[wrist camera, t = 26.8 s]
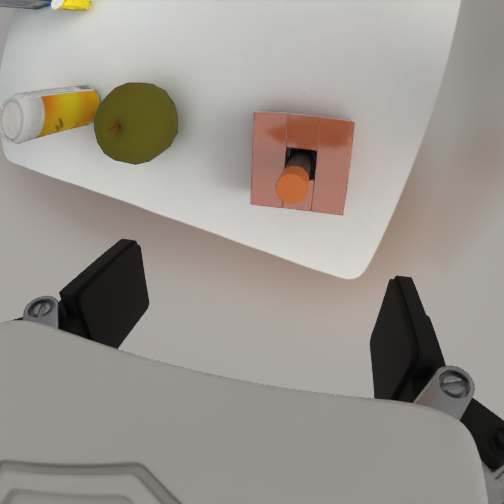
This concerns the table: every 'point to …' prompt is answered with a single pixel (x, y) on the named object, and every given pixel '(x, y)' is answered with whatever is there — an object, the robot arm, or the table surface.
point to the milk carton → (25, 3)
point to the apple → (135, 123)
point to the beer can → (47, 112)
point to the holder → (303, 137)
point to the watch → (70, 4)
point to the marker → (295, 177)
